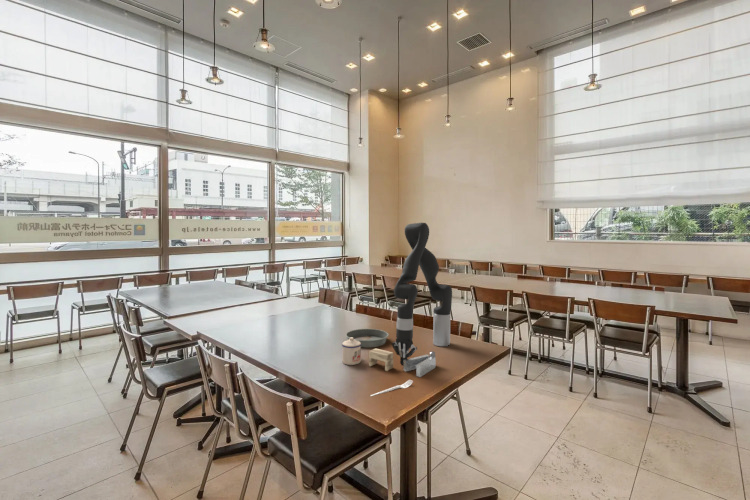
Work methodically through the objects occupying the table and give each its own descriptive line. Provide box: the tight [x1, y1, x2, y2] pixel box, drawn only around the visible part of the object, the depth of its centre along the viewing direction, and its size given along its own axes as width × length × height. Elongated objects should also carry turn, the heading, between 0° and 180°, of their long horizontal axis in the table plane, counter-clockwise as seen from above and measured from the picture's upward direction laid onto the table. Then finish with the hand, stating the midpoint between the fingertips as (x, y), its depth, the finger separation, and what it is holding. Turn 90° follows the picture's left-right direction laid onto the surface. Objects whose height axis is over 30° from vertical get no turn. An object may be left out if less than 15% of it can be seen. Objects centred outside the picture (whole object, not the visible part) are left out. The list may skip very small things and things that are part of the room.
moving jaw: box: [402, 350, 436, 372], centre depth 163 cm, size 17×4×6 cm, turn 124°
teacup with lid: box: [341, 337, 362, 366], centre depth 171 cm, size 12×9×12 cm
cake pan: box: [344, 328, 390, 348], centre depth 203 cm, size 25×25×4 cm
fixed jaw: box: [415, 356, 437, 378], centre depth 159 cm, size 14×2×5 cm, turn 143°
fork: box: [370, 379, 414, 397], centre depth 140 cm, size 3×20×2 cm, turn 124°
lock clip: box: [368, 347, 394, 372], centre depth 164 cm, size 5×10×7 cm, turn 54°
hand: (403, 365), depth 163 cm, fingers closed
